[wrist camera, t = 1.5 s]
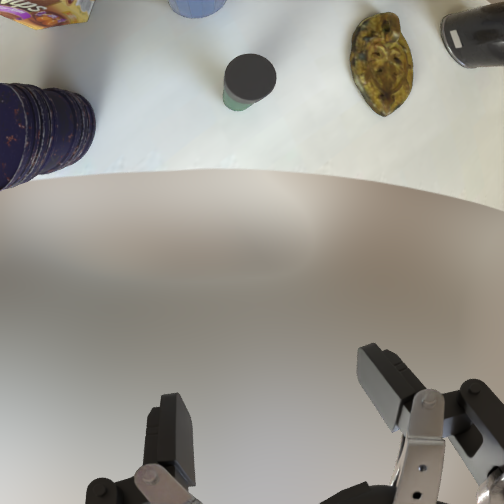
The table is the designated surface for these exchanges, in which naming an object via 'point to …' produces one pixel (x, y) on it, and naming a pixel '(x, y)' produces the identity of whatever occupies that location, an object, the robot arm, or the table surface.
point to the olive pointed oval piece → (381, 63)
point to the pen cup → (195, 7)
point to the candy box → (46, 12)
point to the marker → (247, 81)
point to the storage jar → (41, 131)
